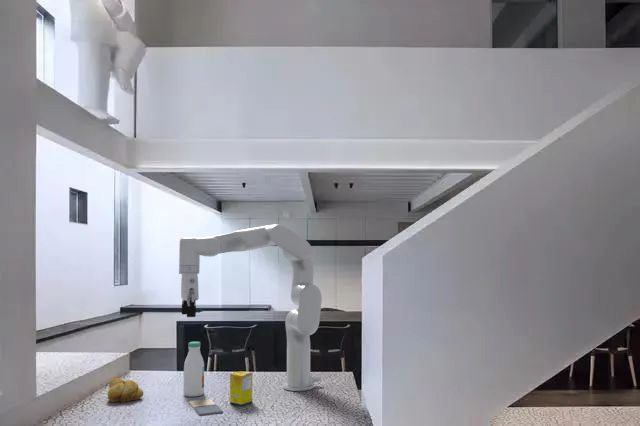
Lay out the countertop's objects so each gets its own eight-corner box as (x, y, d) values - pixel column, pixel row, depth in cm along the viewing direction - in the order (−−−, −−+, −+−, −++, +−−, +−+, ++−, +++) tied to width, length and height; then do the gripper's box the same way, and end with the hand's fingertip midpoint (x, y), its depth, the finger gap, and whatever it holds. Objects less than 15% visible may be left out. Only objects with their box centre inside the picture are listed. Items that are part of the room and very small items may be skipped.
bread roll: (145, 396, 210) (146, 375, 211) (139, 403, 201) (139, 381, 201) (111, 397, 210) (111, 375, 210) (102, 404, 200) (103, 381, 200)
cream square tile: (210, 400, 205) (210, 398, 205) (215, 405, 197) (215, 404, 197) (189, 402, 201) (189, 401, 201) (193, 408, 194) (193, 406, 194)
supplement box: (240, 400, 204) (241, 370, 205) (252, 403, 201) (253, 372, 202) (229, 404, 200) (229, 373, 200) (241, 406, 196) (241, 375, 197)
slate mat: (217, 406, 196) (217, 405, 196) (222, 412, 189) (222, 411, 189) (194, 409, 193) (194, 407, 193) (199, 415, 185) (199, 413, 185)
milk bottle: (198, 397, 208) (199, 344, 210) (179, 396, 210) (180, 343, 211) (207, 392, 216) (207, 341, 217) (188, 391, 217) (189, 340, 219)
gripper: (204, 270, 202) (203, 317, 201) (194, 269, 218) (193, 312, 216) (183, 270, 199) (182, 318, 198) (175, 269, 215) (174, 313, 213)
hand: (188, 315), depth 207 cm, fingers open, 9 cm apart
